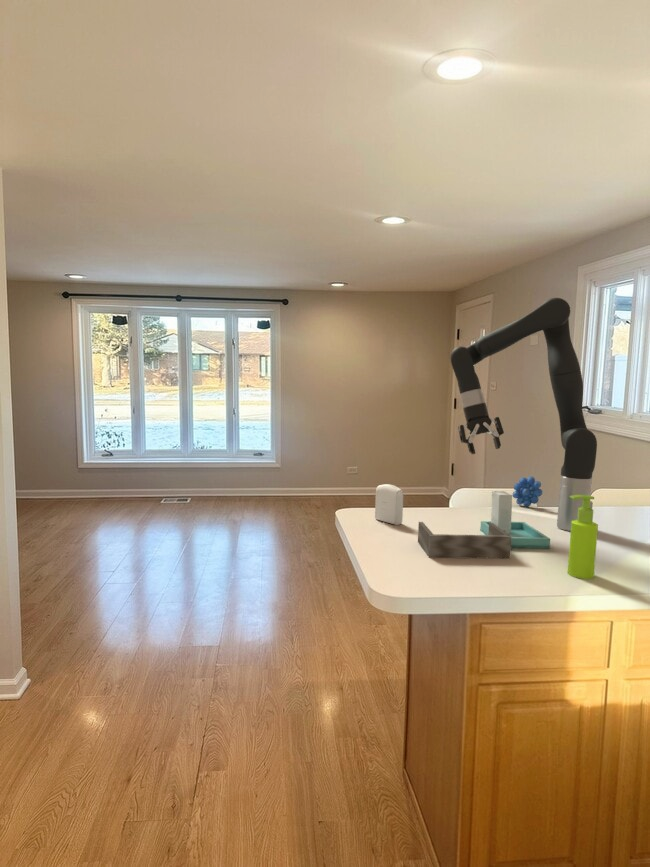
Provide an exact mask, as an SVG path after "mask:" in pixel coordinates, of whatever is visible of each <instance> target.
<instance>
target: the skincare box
mask: <svg viewBox="0 0 650 867" xmlns="http://www.w3.org/2000/svg"><path fill="white" fill-rule="evenodd" d="M512 509H513V494H510V493H508V492H506V491H503V490H501V491H499V490H497V491H496V490H495V491H491V515H490V516H491V520H490V521H491V523H494V524H495V525H496V526H498V527H499V528H500V529H502V530H503V531H504V532H506V533H507V534H510V533H511V522H512V516H513V515H512V514H513V513H512Z"/></svg>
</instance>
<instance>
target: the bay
mask: <svg viewBox="0 0 650 867" xmlns="http://www.w3.org/2000/svg"><path fill="white" fill-rule="evenodd" d="M417 543H418V545H419V546H420V548H421V549H422V550H423V551H424V552H425V555H426V556H427V557H428V558H433V559H434V558H435V559H436V558H438V559H439V558H440V559H442V558H445V557H446V558H445V559H451V558H452V559H511V549H512V548H511V536H510V535H508V534H507V533H506V532H504V531H503V530H502V529H500V528H499V527H498V526H496V525H495V524H494V523H489V533H488V535H485V534H447V533H446V534H445V533H444V534H438V533H436V534H435V533H433V532H432V531H431V529H430V528H428V525H426V523H425V522H423V521H418V530H417Z"/></svg>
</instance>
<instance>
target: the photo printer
mask: <svg viewBox="0 0 650 867" xmlns="http://www.w3.org/2000/svg"><path fill="white" fill-rule="evenodd" d="M374 499H375V501H374V502H375V503H374V505H375V506H374V509H375V510H374V519H376V520H377V521H381V522H384V523H389V524H390V525H391V524H392V525H395V526H398V525H401V524H403V516H404V514H403V513H404V512H403V510H404V492H403V490H402V489H401V488H399V487H398V486H396V485H394V484H389V483H388V484H387V483H386V484H380V485H378V486H376V489H375V498H374Z"/></svg>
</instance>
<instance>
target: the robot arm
mask: <svg viewBox="0 0 650 867" xmlns="http://www.w3.org/2000/svg"><path fill="white" fill-rule="evenodd" d="M570 315H571V306H570V304H569V303H568V301H567V300H565V299H563V298H561V297H552V298H549V299H546V300H545V301H544V302H543V303H541V305H539V306H538V307H536V308H535V309H534V310H532V311H531V312H528V313H527V314H526V315H523V316H522V317H521V318H519V319H517V320H514V321H511V323H509V324H506V325H503V326H501V327H498V328H496V329H494V330H493V331H490V332H489V333H487V334H485V335H483V336H481V337H479V338H478V339H477V340H476V341H475V342H473V343H472V344H470V345H468V346H457V347H455V348H453V349H452V351H451V353H450V363H451V366H452V367H451V368H452V370H453V373H454V376H455V377H456V381H457V387H458V390H459V394H460V401H461V406H462V409H463V413H464V417H465V421H466V424H460V425H458V427H457V429H458V434H459V439H460V443H462V444H466V445H467V448H468V451H469V452H468V453H470V454H471V455H475V454H476V449H475V445H474V443H473V440H474V438H475V437H476V436H478V435H480V434H486V433H487V434H489V435H490V436H492V440H493V443H494V447H495V449H496V450H499V449H501V448H500V447H501V446H502V443H501V440H500V436H502V435H503V434H504V433H505V431H504V428H503V426H502V422H501V420H500V416H496V417H493V418H490V416H489V412H488V407H487V403H486V399H485V397H484V393H483V390H482V388H481V383H480V380H479V377H478V375H477V373H476V370H475V366H476V364H479V363H480V362H482V361H483V360H484V359H487V358H488V357H491V356H493V355H496V354H497V353H499V352H502V351H504V350H505V349H507V348H509V347H511V346H513V345H515V344H516V343H518V342H520V341H521V340H523V339H525V338H527V337H530V336H531V335H534V334H536V333H538V332H541V331H542V332H543V335H544V338H545V343H546V346H547V347H546V351H547V362H548V363H547V364H548V372H549V380H550V383H551V384H550V385H551V388H552V392H553V397H554V402H555V405H556V409H557V412H558V418H559V426H560V427H559V428H560V429H559V430H560V442H561V446H562V447H563V449H564V458H563V459H564V460H563V465H562V466H561V469H560V480H559V494H558V505H557V507H558V508H557V519H556V527H557V528H558V529H561V530H564V531H568V532H571V523H572V521H573V520H577V518H578V508H580V507H582V503H583V499H576V500H574V499H572V498H570V497H569V496H573V495H590V496H592V494H591V493H592V481H593V473H594V471H595V466H596V458H597V450H598V441H597V437H596V435H595V433H593V432H592V431H591V430H589V429H588V428H587V424H586V420H585V416H584V412H583V400H584V380H583V377H582V371H581V366H580V362H579V358H578V356H577V353H576V350H575V348H574V345H573V342H572V338H571V332H570V321H569V320H570V317H571V316H570ZM492 424H493V425H494V426H495V429H494V428H493V427H491V425H492ZM466 430H469V434H468V435H467V436H468V437H466ZM495 430H496V431H495ZM593 505H594V504H593V501H592V500H590V508H591V509H593Z"/></svg>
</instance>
